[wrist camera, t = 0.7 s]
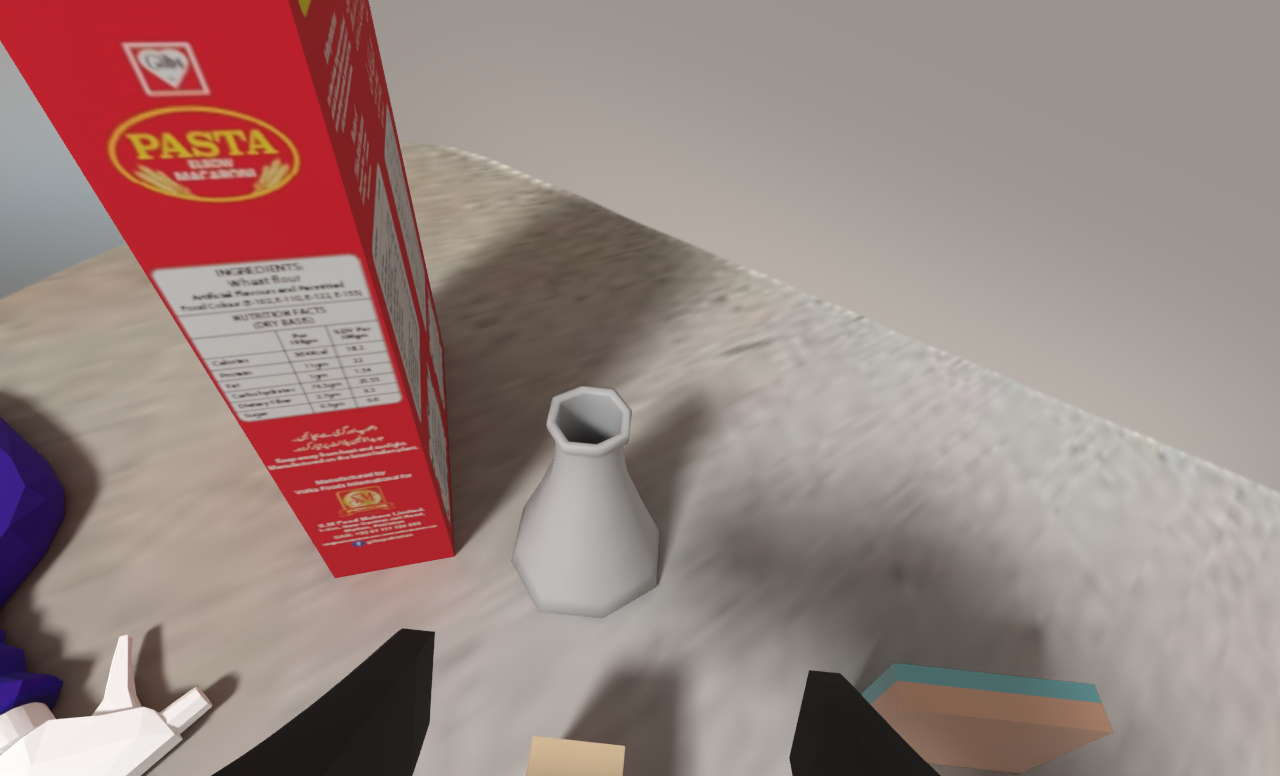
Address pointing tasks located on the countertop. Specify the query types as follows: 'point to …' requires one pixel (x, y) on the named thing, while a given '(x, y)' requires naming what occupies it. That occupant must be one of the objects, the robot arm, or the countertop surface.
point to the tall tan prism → (574, 758)
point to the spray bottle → (21, 702)
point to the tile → (986, 716)
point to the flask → (587, 514)
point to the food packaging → (270, 238)
